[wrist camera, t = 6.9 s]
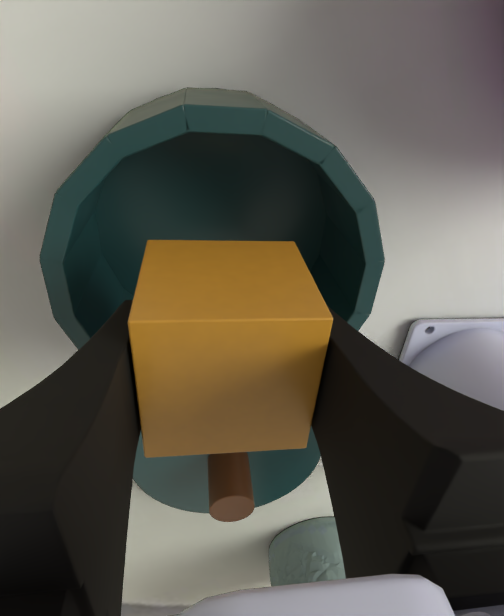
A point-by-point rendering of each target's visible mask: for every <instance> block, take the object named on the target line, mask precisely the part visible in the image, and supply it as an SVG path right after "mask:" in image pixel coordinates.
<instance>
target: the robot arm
mask: <svg viewBox="0 0 504 616" xmlns="http://www.w3.org/2000/svg"><path fill="white" fill-rule="evenodd" d="M132 302H133V300H125V301H124V302H123V303H122V304H121V305H120V306H119V307H118V308H117V310H116V311H115V312H114V313H113V314H112V315H111V317H110V318H109V319H108V320H107V321H106V322H105V323H104V325H103V326H102V327H101V328H100V329H99V330H98V331H97V332H96V333H95V334H94V335H93V336H92V337H91V338H90V340H89V341H88V342H87V343H86V344H85V345H84V346H82V347H81V348H80V349H79V350H78V351H77V352H76V353H75V354H74V355H73V356H72V357H71V358H70V359H69V360H68V361H66V362H65V363H64V364H63V365H62V366H61V367H59V368H58V369H57V370H56V371H54V372H53V373H52V374H51V375H49V376H48V377H47V378H45V379H44V380H43V381H41V382H40V383H39V384H37V385H36V386H34V387H33V388H31V389H30V390H28V391H27V392H25V393H24V394H22V395H21V396H19V397H18V398H16V399H15V400H13V401H12V402H10V403H9V404H7V405H6V406H4V407H2V408H1V409H0V616H121V604H122V590H123V577H124V565H125V553H126V541H127V530H128V519H129V509H130V498H131V489H132V479H133V469H134V463H135V456H136V451H137V446H138V441H139V437H140V432H141V425H140V417H139V409H138V401H137V393H136V385H135V377H134V370H133V362H132V354H131V346H130V338H129V330H128V318H129V314H130V310H131V306H132ZM327 307H328V306H327ZM328 309H329V311H330V313H331V315H332V317H333V323H332V328H331V332H330V337H329V342H328V347H327V351H326V356H325V361H324V366H323V371H322V375H321V380H320V385H319V390H318V394H317V399H316V404H315V409H314V413H313V418H312V423H311V426H312V429H313V432H314V435H315V438H316V441H317V444H318V447H319V451H320V454H321V458H322V462H323V467H324V471H325V475H326V480H327V484H328V488H329V493H330V498H331V502H332V507H333V512H334V517H335V522H336V527H337V532H338V537H339V543H340V548H341V553H342V558H343V564H344V570H345V576H346V579H339V580H329V581H320V582H311V583H301V584H292V585H282V586H273V587H263V588H254V589H244V590H238V591H233V592H229V593H224V594H220V595H216V596H211V597H207V598H205V599H203V600H201V601H199V602H197V603H196V604H194V605H192V606H190V607H188V608H187V609H185V610H183V611H182V612H181V613H180V614H179V615H170V616H504V318H482V319H421V320H417V321H415V322H414V323H412V325H411V326H410V329H409V332H408V335H407V338H406V341H405V344H404V347H403V350H402V352H401V355H400V358H399V360H398V359H396V358H394V357H393V356H391V355H390V354H388V353H387V352H385V351H384V350H383V349H381V348H380V347H378V346H377V345H376V344H374V343H373V342H371V341H370V340H369V339H367V338H366V337H365V336H363V335H362V334H361V333H360V332H358V331H357V330H356V329H355V328H353V327H352V326H351V325H350V324H348V323H347V322H346V321H345V320H344V319H342V318H341V317H340V316H339V315H338V314H336V313H335V312H334V311H333V310H332V309H331V308H329V307H328ZM428 327H430V328H429V329H427V330H426V328H428Z"/></svg>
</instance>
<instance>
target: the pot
mask: <svg viewBox="0 0 504 616" xmlns="http://www.w3.org/2000/svg"><path fill="white" fill-rule="evenodd" d="M147 240H212V241H293V242H295V244H296V246H297V248H298V250H299V252H300V254H301V256H302V258H303V260H304V262H305V264H306V266H307V268H308V270H309V272H310V274H311V275H312V277H313V279H314V281H315V283H316V285H317V287H318V289H319V291H320V293H321V295H322V297H323V299H324V301H325V303H326V305H327V306H328V307H329V308H331V309H332V310H333V311H334V312H335V313H336V314H338V315H339V316H340V317H341V318H342V319H344V320H345V321H346V322H347V323H348V324H350V325H351V326H352V327H353V328H355V329H356V330H357V331H358V330H359V329H360V328H361V326H362V325H363V323H364V322H365V321H366V319H367V318H368V317H369V314H371V311H372V307H373V303H374V300H375V296H376V292H377V288H378V285H379V281H380V277H381V273H382V270H383V266H384V262H385V261H384V260H385V258H384V252H383V246H382V240H381V234H380V228H379V222H378V216H377V210H376V204H375V201H374V198H373V197H372V196H371V194H370V193H369V191H368V190H367V189H366V187H365V186H364V184H363V183H362V182H361V180H360V179H359V177H358V176H357V175H356V173H355V172H354V170H353V169H352V168H351V166H350V165H349V163H348V162H347V161H346V159H345V158H344V156H343V155H342V154H341V152H340V151H339V149H338V148H337V147H336V146H335V145H334V144H332V143H331V142H330V141H328V140H327V139H326V138H324V137H323V136H321V135H320V134H319V133H317V132H316V131H314V130H313V129H312V128H310V127H309V126H307V125H306V124H305V123H303V122H302V121H300V120H299V119H298V118H296V117H294V116H292V115H290V114H289V113H287V112H285V111H283V110H281V109H279V108H278V107H276V106H274V105H273V104H271V103H268V102H267V101H265V100H263V99H261V98H259V97H257V96H256V95H254V94H252V93H250V92H247V91H237V90H226V89H218V88H187V89H186V88H184V89H181V90H179V91H176V92H174V93H171V94H169V95H166V96H163V97H160V98H157V99H155V100H153V101H151V102H149V103H147V104H144V105H142V106H140V107H137V108H135V109H132V110H131V111H129V112H128V113H127V114H126V115H125V116H124V117H123V118H122V119H121V120H120V121H119V122H118V123H117V124H116V125H115V126H114V127H113V128H112V129H111V130H110V131H109V132H108V133H107V134H106V135H105V136H104V137H103V139H102V140H101V141H100V142H99V143H98V144H97V145H96V146H95V148H94V149H93V150H92V151H91V152H90V153H89V154H88V156H87V157H86V158H85V159H84V160H83V161H82V162H81V163H80V165H79V166H78V167H77V168H76V169H75V170H74V171H73V172H72V174H71V175H70V176H69V177H68V178H67V179H66V180H65V182H64V183H63V184H62V185H61V186H60V187H59V188H58V189H57V191H56V193H55V194H54V198H53V203H52V207H51V211H50V215H49V219H48V223H47V227H46V232H45V236H44V240H43V244H42V248H41V252H40V264H41V268H42V272H43V276H44V280H45V284H46V288H47V292H48V296H49V300H50V305H51V309H52V313H53V317H54V318H55V320H56V322H57V323H58V324H59V325H60V327H61V328H62V329H63V331H64V332H65V333H66V334H67V336H68V337H69V338H70V339H71V341H72V342H73V343H74V345H75V346H76V347H77V348H78V350H79V349H80V348H81V347H82V346H84V345H85V344H86V343H87V342H88V341H89V340H90V338H91V337H92V336H93V335H94V334H95V333H96V332H97V331H98V330H99V329H100V328H101V327H102V326H103V325H104V323H105V322H106V321H107V320H108V319H109V318H110V317H111V315H112V314H113V313H114V312H115V311H116V310H117V308H118V307H119V306H120V305H121V304H122V303H123V302H124V301H125V300H133V298H134V293H135V289H136V285H137V281H138V277H139V273H140V268H141V264H142V260H143V256H144V252H145V248H146V243H147Z"/></svg>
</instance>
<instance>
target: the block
mask: <svg viewBox="0 0 504 616" xmlns="http://www.w3.org/2000/svg"><path fill="white" fill-rule="evenodd" d="M332 323H333V317H332V315H331V313H330V311H329V309H328V307H327V305H326V303H325V301H324V299H323V297H322V295H321V293H320V291H319V289H318V287H317V285H316V283H315V281H314V279H313V277H312V275H311V274H310V272H309V270H308V268H307V266H306V264H305V262H304V260H303V258H302V256H301V254H300V252H299V250H298V248H297V246H296V244H295V242H293V241H212V240H147V243H146V248H145V252H144V256H143V260H142V264H141V268H140V273H139V277H138V281H137V285H136V289H135V293H134V298H133V302H132V306H131V310H130V314H129V318H128V330H129V338H130V346H131V354H132V362H133V370H134V377H135V385H136V393H137V401H138V409H139V417H140V425H141V433H142V441H143V449H144V456H145V457H146V458H151V457H167V456H184V455H201V454H217V453H234V452H251V451H268V450H284V449H301V448H306V447H307V442H308V437H309V433H310V428H311V423H312V418H313V413H314V409H315V404H316V399H317V394H318V390H319V385H320V380H321V375H322V371H323V366H324V361H325V356H326V351H327V347H328V342H329V337H330V332H331V328H332Z"/></svg>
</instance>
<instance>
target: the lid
mask: <svg viewBox="0 0 504 616" xmlns="http://www.w3.org/2000/svg"><path fill="white" fill-rule="evenodd" d="M320 456H321V454H320V451H319V447H318V444H317V441H316V438H315V435H314V432H313V429H312V426H311V428H310V433H309V437H308V442H307V447H306V448H301V449H284V450H268V451H251V452H234V453H217V454H201V455H184V456H167V457H151V458H146V457H145V456H144V449H143V441H142V433H141V432H140V437H139V441H138V446H137V451H136V456H135V463H134V469H133V479H134V481H135V482H136V483H137V485H138V486H139V487H140V488H141V489H142V490H143V491H144V492H145V493H146V494H148V495H149V496H151V497H152V498H154V499H155V500H157V501H159V502H161V503H163V504H166V505H168V506H171V507H174V508H177V509H181V510H185V511H190V512H198V513H210V515H211V516H212V517H213V518H214V519H216V520H219V521H223V522H233V521H238V520H241V519H244V518H246V517H248V516H249V515H250V514H251V513H252V512H253V510H254V508H255V507H259V506H262V505H264V504H267V503H270V502H272V501H274V500H277V499H279V498H281V497H282V496H284V495H286V494H288V493H289V492H291V491H292V490H294V489H295V488H296V487H298V486H299V485H300V484H301V483H302V482H304V481H305V480H306V478H307V477H308V476H309V475H310V474H311V473H312V471H313V470H314V469H315V467H316V465H317V463H318V461H319V459H320Z"/></svg>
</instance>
